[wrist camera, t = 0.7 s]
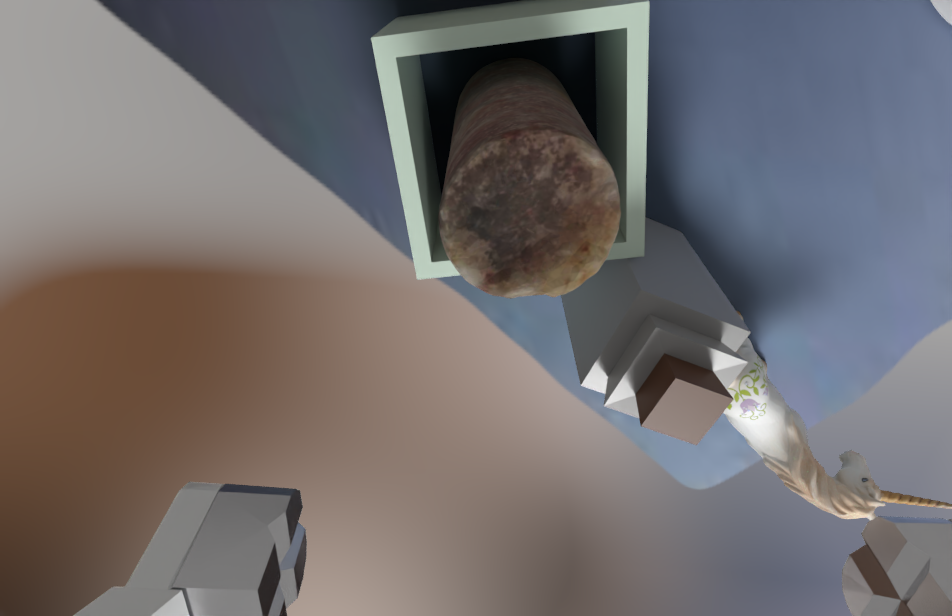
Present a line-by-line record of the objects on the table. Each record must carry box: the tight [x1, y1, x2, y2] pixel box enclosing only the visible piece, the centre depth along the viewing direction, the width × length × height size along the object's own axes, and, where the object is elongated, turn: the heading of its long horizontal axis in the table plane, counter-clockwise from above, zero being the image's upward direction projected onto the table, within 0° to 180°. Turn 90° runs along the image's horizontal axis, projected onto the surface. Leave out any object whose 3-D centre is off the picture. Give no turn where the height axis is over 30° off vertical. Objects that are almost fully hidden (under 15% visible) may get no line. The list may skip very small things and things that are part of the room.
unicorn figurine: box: [723, 311, 952, 520], centre depth 44 cm, size 7×20×13 cm, turn 56°
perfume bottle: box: [561, 217, 751, 445], centre depth 38 cm, size 7×7×18 cm
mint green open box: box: [371, 0, 649, 279], centre depth 36 cm, size 13×13×10 cm
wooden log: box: [438, 58, 621, 298], centre depth 32 cm, size 8×7×20 cm
